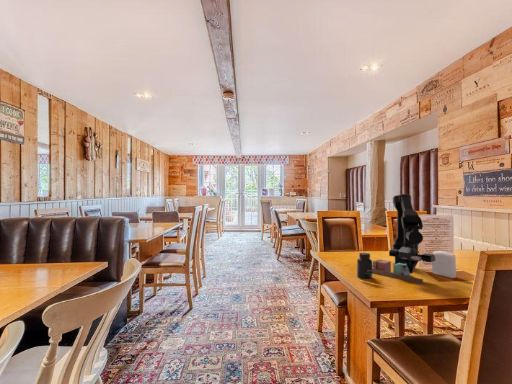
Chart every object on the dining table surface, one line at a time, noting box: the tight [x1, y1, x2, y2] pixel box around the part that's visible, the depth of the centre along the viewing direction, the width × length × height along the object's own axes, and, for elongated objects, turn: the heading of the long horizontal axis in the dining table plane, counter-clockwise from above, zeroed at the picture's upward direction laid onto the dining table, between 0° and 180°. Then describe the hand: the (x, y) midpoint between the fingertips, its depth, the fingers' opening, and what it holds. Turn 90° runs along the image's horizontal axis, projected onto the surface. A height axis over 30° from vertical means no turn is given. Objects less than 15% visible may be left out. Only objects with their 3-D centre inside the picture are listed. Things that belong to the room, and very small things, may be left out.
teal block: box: [392, 263, 407, 274], centre depth 138 cm, size 6×4×6 cm, turn 129°
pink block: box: [377, 259, 392, 273], centre depth 144 cm, size 6×4×6 cm, turn 129°
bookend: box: [401, 265, 414, 277], centre depth 135 cm, size 7×2×5 cm, turn 129°
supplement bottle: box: [356, 252, 373, 280], centre depth 136 cm, size 7×7×12 cm
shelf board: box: [372, 258, 424, 285], centre depth 138 cm, size 11×24×6 cm, turn 39°
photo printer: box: [431, 250, 457, 279], centre depth 139 cm, size 10×4×12 cm, turn 26°
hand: (411, 273), depth 134 cm, fingers closed
